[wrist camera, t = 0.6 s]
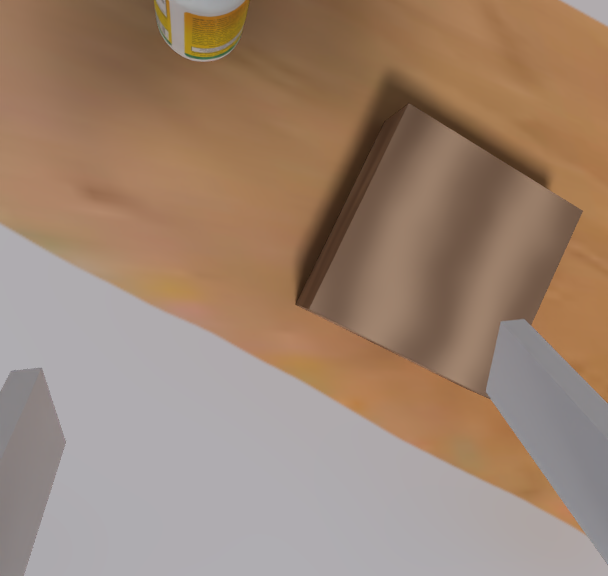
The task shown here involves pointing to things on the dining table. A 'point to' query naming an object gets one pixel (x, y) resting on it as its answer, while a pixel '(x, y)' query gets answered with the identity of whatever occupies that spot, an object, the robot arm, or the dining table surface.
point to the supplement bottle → (201, 26)
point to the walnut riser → (438, 250)
